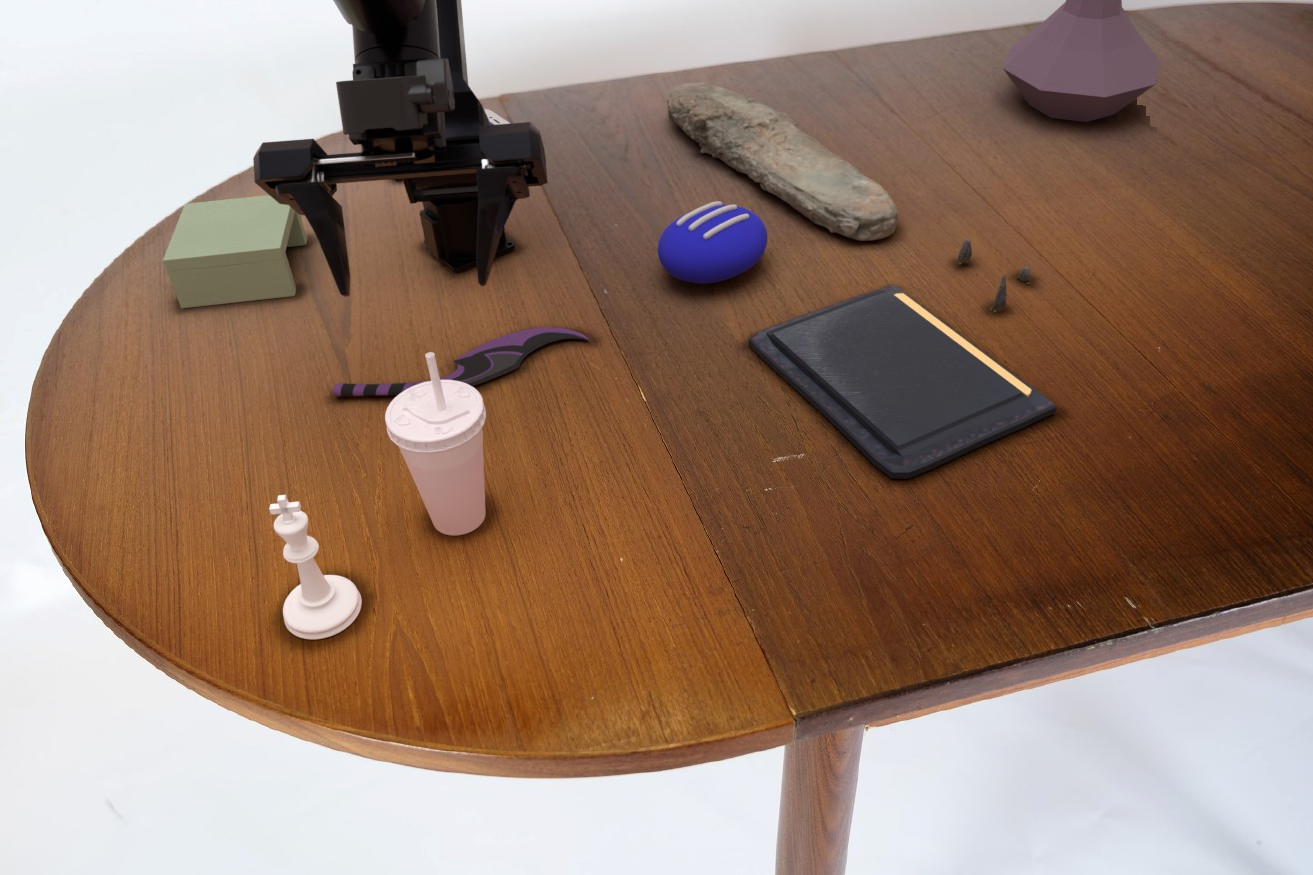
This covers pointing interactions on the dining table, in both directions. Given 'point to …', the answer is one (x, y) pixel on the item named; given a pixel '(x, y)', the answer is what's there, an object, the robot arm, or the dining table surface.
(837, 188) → the long grey stone
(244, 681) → the dining table surface
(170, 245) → the green box
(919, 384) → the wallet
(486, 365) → the knife
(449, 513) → the smoothie
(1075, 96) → the flask
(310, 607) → the chess piece
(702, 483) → the dining table surface
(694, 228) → the decorative object
